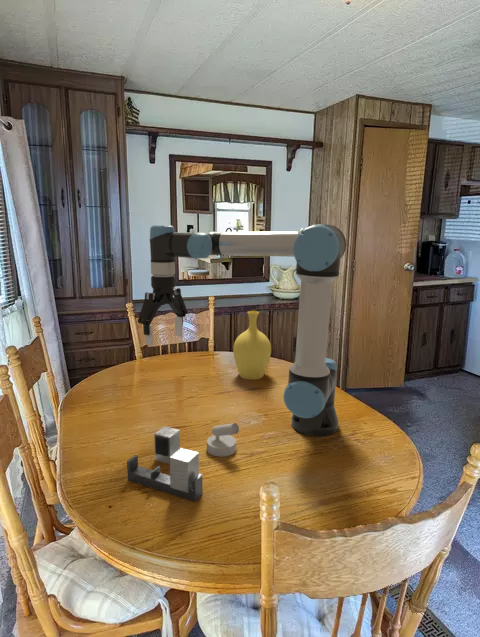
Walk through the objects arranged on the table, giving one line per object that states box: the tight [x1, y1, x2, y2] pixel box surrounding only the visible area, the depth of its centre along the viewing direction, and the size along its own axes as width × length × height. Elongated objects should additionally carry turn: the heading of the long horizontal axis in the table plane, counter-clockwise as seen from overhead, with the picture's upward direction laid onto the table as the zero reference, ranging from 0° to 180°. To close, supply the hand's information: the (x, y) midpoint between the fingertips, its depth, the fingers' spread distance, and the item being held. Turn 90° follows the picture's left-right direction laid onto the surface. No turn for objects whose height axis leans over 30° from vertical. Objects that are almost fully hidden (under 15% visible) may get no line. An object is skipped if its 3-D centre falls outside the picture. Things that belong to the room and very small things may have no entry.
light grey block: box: [153, 425, 181, 465], centre depth 122 cm, size 6×5×8 cm
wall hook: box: [206, 422, 240, 457], centre depth 127 cm, size 9×10×10 cm
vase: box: [232, 310, 272, 380], centre depth 186 cm, size 16×16×28 cm
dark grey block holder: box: [126, 447, 203, 503], centre depth 108 cm, size 20×5×10 cm, turn 65°
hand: (164, 340), depth 143 cm, fingers open, 13 cm apart
